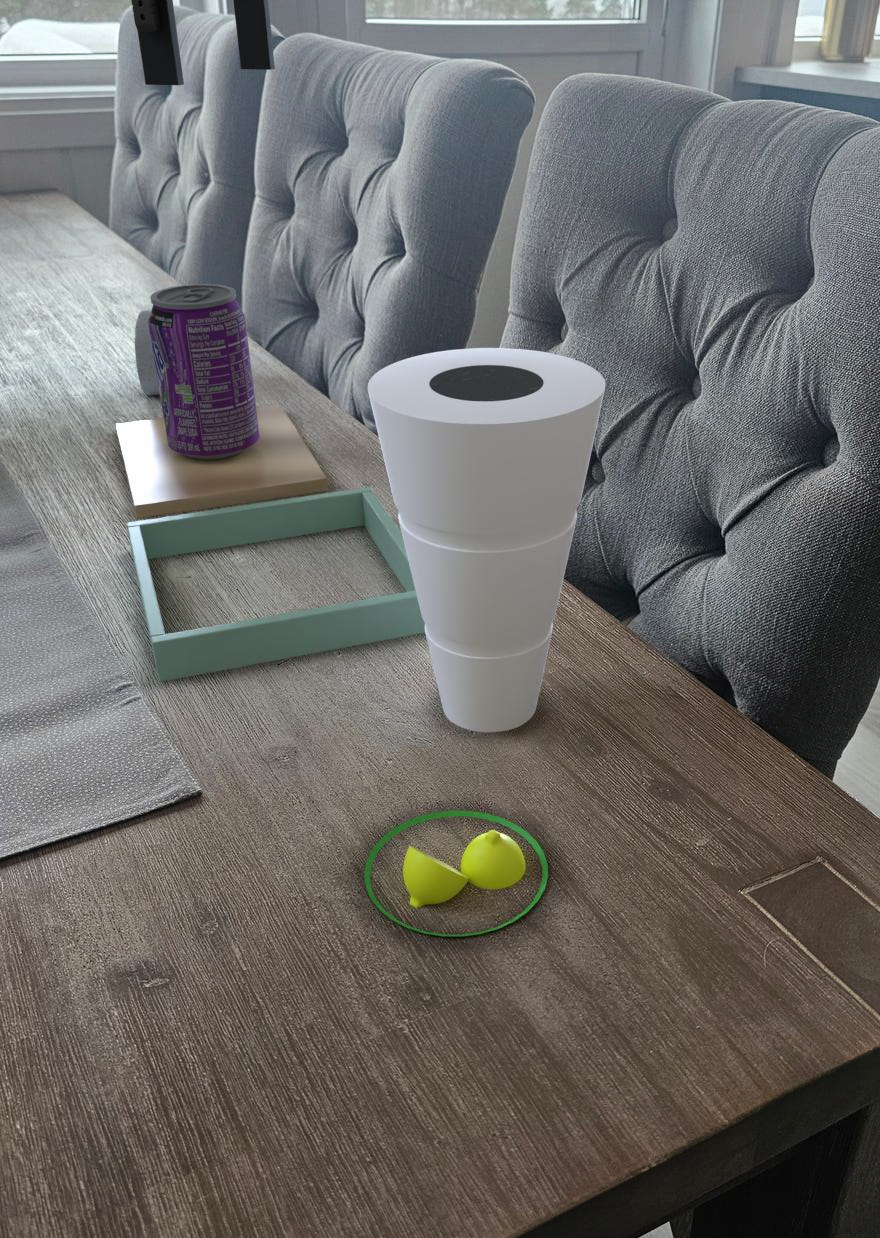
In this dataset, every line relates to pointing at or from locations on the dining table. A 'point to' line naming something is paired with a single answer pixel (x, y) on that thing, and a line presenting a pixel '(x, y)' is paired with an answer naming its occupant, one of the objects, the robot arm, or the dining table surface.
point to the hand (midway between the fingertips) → (214, 77)
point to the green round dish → (482, 865)
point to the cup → (487, 511)
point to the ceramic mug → (145, 355)
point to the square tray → (281, 631)
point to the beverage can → (203, 371)
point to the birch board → (216, 468)
